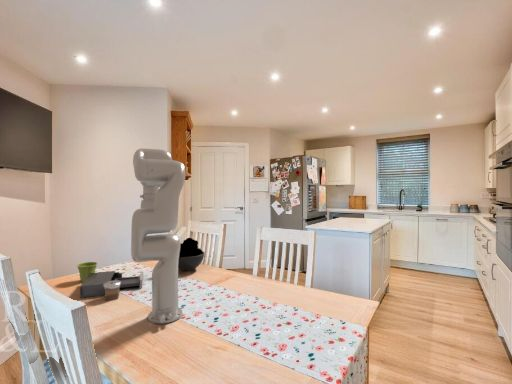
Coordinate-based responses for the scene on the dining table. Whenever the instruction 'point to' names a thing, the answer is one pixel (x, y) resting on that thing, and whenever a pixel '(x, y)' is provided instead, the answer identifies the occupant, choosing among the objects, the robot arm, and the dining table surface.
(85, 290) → the player
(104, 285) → the disc
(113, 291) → the block
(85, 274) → the plant pot
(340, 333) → the dining table surface
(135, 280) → the tray
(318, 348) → the dining table surface
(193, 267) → the bowl of black rocks
